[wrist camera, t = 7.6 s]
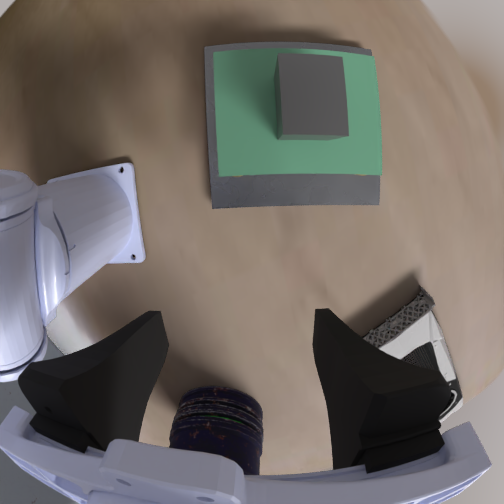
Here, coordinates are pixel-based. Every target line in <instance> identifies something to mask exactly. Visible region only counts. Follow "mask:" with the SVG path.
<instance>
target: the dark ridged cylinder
mask: <svg viewBox="0 0 504 504" xmlns="http://www.w3.org/2000/svg"><path fill="white" fill-rule="evenodd" d="M262 418H263V412H262V408H261V406H260V405H259V403H258V402H257V401H256V400H255V399H253V398H252V397H251V396H249V395H247V394H245V393H243V392H241V391H238V390H235V389H231V388H227V387H220V386H205V387H199V388H195V389H193V390H190V391H188V392H187V393H185V394H184V395H183V397H182V398H181V400H180V404H179V409H178V410H177V413H176V415H175V417H174V420H173V423H172V429H171V432H170V437H169V440H170V446H169V448H174V449H181V450H189V451H197V452H205V453H210V454H215V455H221V456H223V457H225V458H228V459H230V460H233V461H234V462H236V463H237V464H238V465H239V466H240V467H241V469H242V470H243V473H244V475H259V469H260V456H261V455H262V443H263V427H262Z"/></svg>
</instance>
